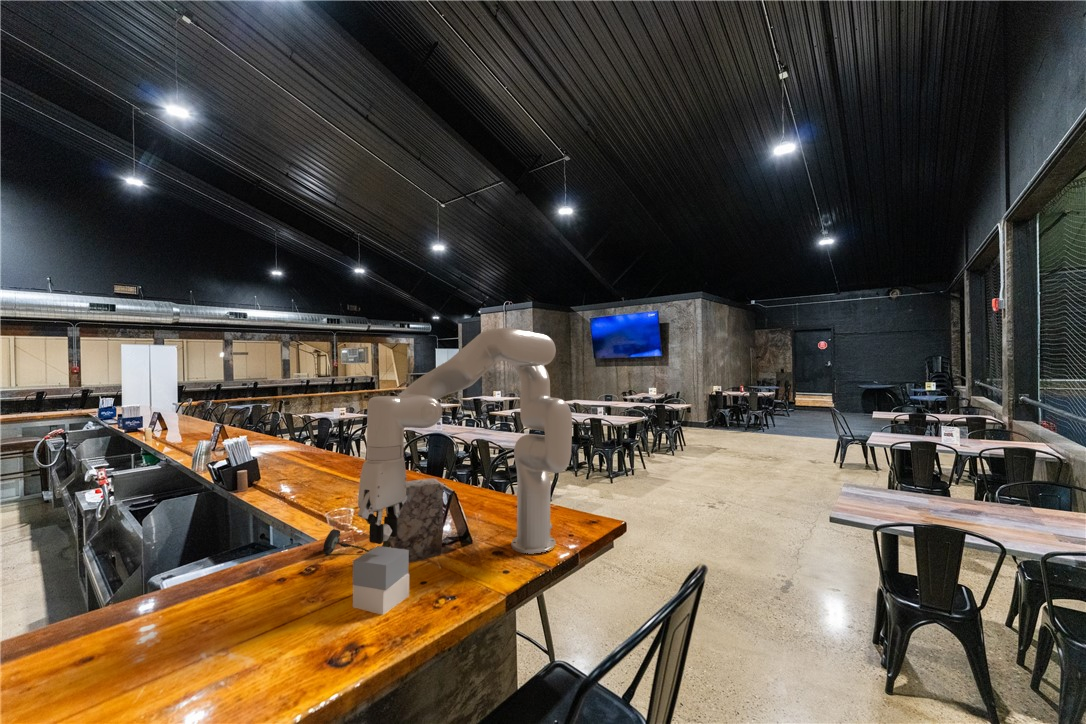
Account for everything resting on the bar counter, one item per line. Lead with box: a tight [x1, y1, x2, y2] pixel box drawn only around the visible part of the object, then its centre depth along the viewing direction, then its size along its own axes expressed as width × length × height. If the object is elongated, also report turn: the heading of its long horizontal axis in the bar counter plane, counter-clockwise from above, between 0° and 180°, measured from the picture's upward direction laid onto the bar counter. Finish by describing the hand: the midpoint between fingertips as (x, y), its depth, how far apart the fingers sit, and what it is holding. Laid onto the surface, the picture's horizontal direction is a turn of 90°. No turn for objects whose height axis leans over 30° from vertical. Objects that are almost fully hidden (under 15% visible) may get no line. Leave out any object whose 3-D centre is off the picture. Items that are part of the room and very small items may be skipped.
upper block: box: [352, 545, 410, 590], centre depth 91 cm, size 8×8×5 cm
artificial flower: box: [322, 528, 391, 556], centre depth 117 cm, size 9×22×10 cm, turn 91°
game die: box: [382, 523, 392, 541], centre depth 91 cm, size 4×4×3 cm
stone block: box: [390, 478, 445, 564], centre depth 113 cm, size 13×7×20 cm, turn 128°
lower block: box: [352, 573, 410, 616], centre depth 91 cm, size 8×8×5 cm
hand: (383, 538), depth 91 cm, fingers closed on game die, 3 cm apart
